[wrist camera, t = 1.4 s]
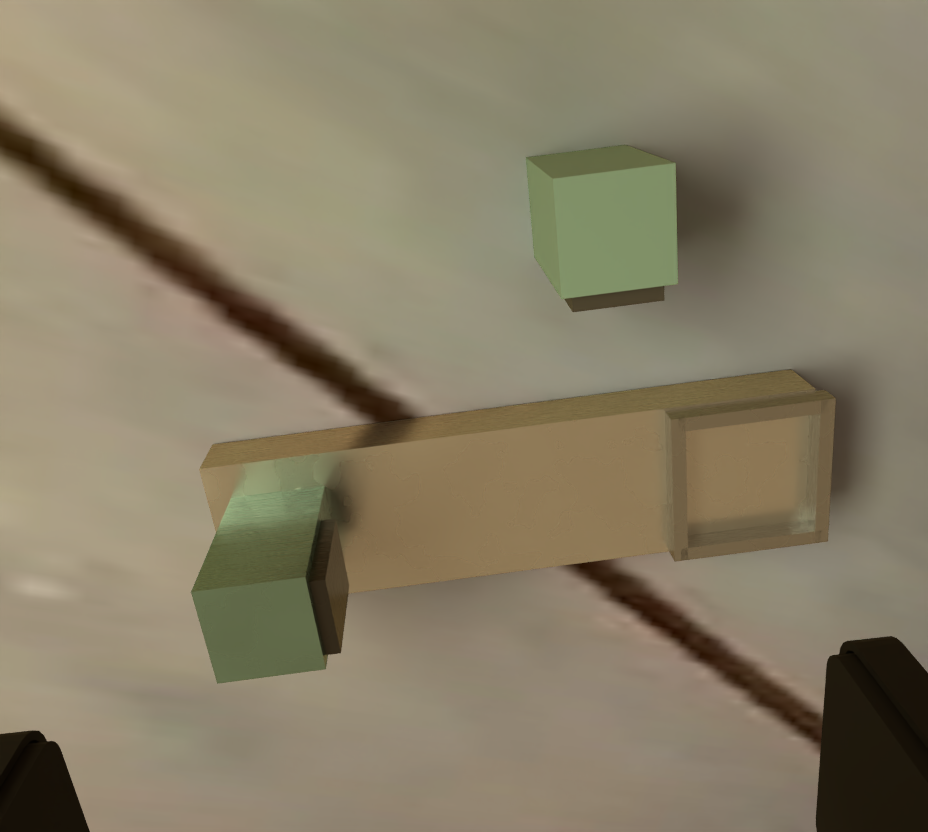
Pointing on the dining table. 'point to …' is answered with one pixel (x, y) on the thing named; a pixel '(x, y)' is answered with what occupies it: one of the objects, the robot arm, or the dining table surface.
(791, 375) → the rail
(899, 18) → the dining table surface
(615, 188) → the pale green gift box
